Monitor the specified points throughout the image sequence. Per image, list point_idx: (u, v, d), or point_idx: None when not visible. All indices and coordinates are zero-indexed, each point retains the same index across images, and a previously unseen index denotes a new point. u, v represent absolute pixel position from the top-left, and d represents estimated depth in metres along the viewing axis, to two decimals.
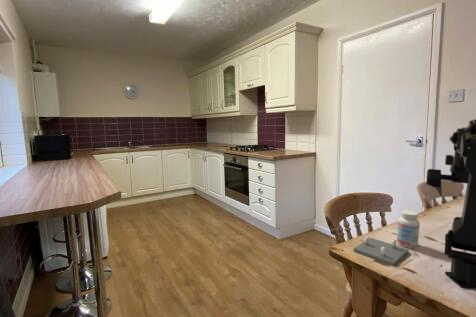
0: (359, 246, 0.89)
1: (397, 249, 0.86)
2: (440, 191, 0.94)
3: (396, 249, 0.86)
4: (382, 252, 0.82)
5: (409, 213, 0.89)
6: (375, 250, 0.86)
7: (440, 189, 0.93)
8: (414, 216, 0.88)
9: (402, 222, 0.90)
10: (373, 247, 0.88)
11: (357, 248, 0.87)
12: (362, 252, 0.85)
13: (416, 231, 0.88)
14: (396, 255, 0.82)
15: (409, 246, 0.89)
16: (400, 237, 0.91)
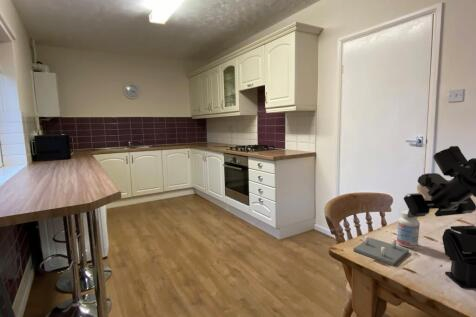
0: (359, 246, 0.89)
1: (397, 249, 0.86)
2: None
3: (396, 249, 0.86)
4: (382, 252, 0.82)
5: None
6: (375, 250, 0.86)
7: (420, 216, 0.79)
8: None
9: (402, 222, 0.90)
10: (373, 247, 0.88)
11: (357, 248, 0.87)
12: (362, 252, 0.85)
13: (416, 231, 0.88)
14: (396, 255, 0.82)
15: (409, 246, 0.89)
16: (400, 237, 0.91)
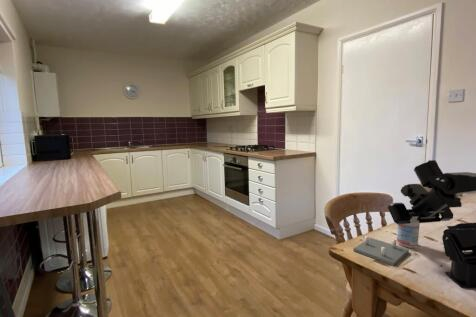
0: (359, 246, 0.89)
1: (397, 249, 0.86)
2: None
3: (396, 249, 0.86)
4: (382, 252, 0.82)
5: None
6: (375, 250, 0.86)
7: None
8: None
9: None
10: (373, 247, 0.88)
11: (357, 248, 0.87)
12: (362, 252, 0.85)
13: (416, 231, 0.88)
14: (396, 255, 0.82)
15: (409, 246, 0.89)
16: (400, 237, 0.91)
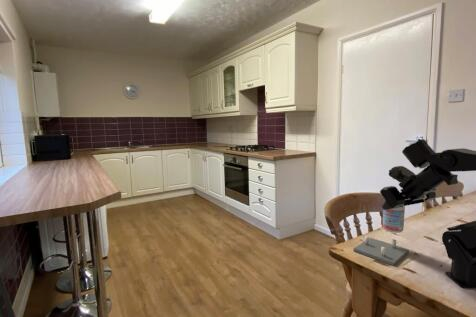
0: (359, 246, 0.89)
1: (397, 249, 0.86)
2: None
3: (396, 249, 0.86)
4: (382, 252, 0.82)
5: None
6: (375, 250, 0.86)
7: None
8: None
9: None
10: (373, 247, 0.88)
11: (357, 248, 0.87)
12: (362, 252, 0.85)
13: (403, 215, 0.86)
14: (396, 255, 0.82)
15: (397, 231, 0.86)
16: (388, 223, 0.87)
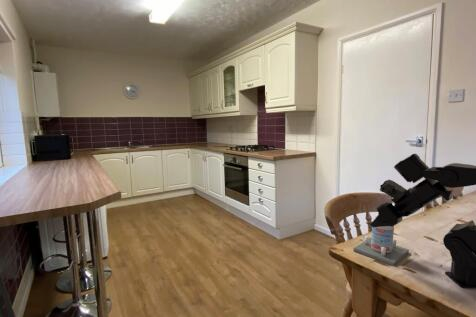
0: (359, 246, 0.89)
1: (397, 249, 0.86)
2: None
3: (396, 249, 0.86)
4: (382, 252, 0.82)
5: None
6: (375, 250, 0.86)
7: None
8: None
9: (381, 227, 0.83)
10: None
11: (357, 248, 0.87)
12: (362, 252, 0.85)
13: None
14: (396, 255, 0.82)
15: (388, 251, 0.84)
16: (380, 243, 0.84)
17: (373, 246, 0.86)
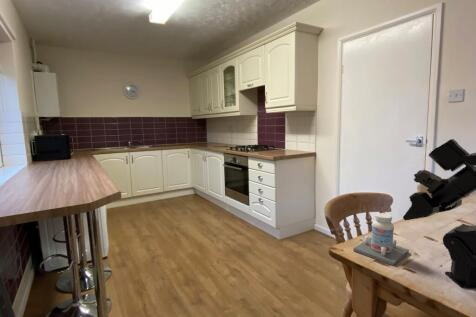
0: (359, 246, 0.89)
1: (397, 249, 0.86)
2: None
3: (396, 249, 0.86)
4: (382, 252, 0.82)
5: (385, 216, 0.84)
6: None
7: None
8: (391, 219, 0.83)
9: (381, 227, 0.83)
10: None
11: (357, 248, 0.87)
12: (362, 252, 0.85)
13: None
14: (396, 255, 0.82)
15: (388, 251, 0.84)
16: (379, 243, 0.84)
17: (373, 246, 0.86)
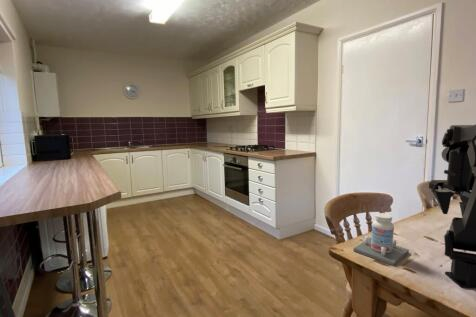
0: (359, 246, 0.89)
1: (397, 249, 0.86)
2: (439, 202, 0.86)
3: (396, 249, 0.86)
4: (382, 252, 0.82)
5: (385, 216, 0.84)
6: None
7: (437, 197, 0.86)
8: (391, 219, 0.83)
9: (381, 227, 0.83)
10: None
11: (357, 248, 0.87)
12: (362, 252, 0.85)
13: None
14: (396, 255, 0.82)
15: (388, 251, 0.84)
16: (379, 243, 0.84)
17: (373, 246, 0.86)
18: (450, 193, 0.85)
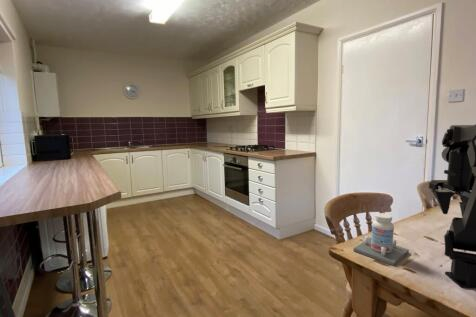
0: (359, 246, 0.89)
1: (397, 249, 0.86)
2: (439, 202, 0.86)
3: (396, 249, 0.86)
4: (382, 252, 0.82)
5: (385, 216, 0.84)
6: None
7: (437, 197, 0.86)
8: (391, 219, 0.83)
9: (381, 227, 0.83)
10: None
11: (357, 248, 0.87)
12: (362, 252, 0.85)
13: None
14: (396, 255, 0.82)
15: (388, 251, 0.84)
16: (379, 243, 0.84)
17: (373, 246, 0.86)
18: (450, 193, 0.85)
